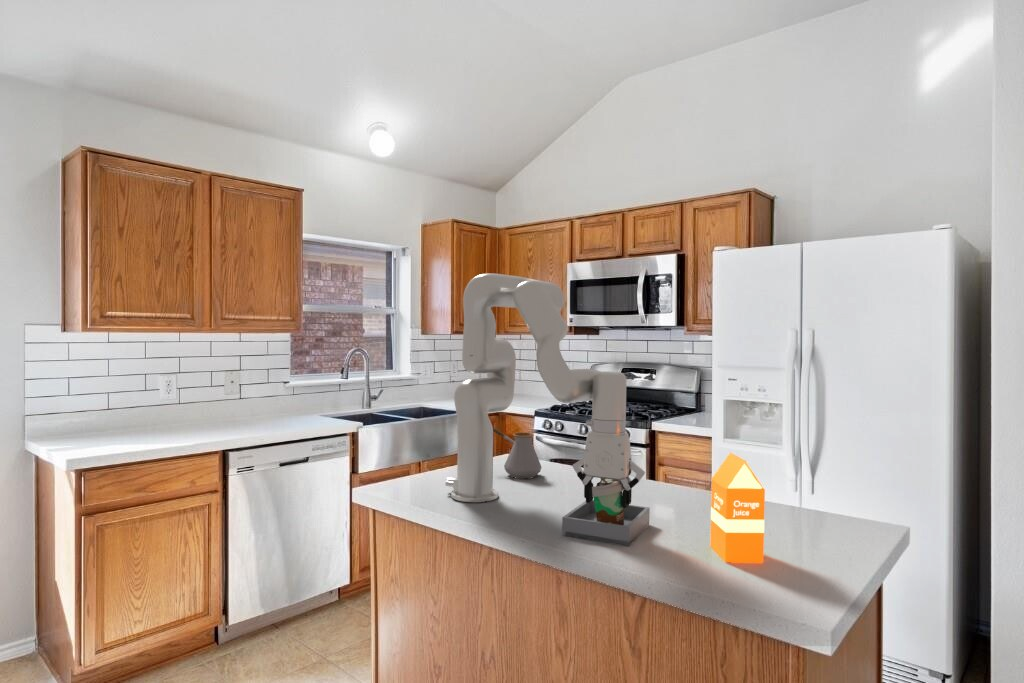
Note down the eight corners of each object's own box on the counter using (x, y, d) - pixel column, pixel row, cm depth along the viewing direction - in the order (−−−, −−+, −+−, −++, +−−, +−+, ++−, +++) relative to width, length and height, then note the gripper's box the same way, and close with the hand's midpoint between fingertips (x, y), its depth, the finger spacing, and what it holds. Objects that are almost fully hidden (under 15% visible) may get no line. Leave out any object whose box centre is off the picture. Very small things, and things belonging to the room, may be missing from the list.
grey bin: (562, 535, 139) (562, 517, 139) (588, 515, 154) (588, 499, 154) (629, 546, 133) (629, 527, 132) (649, 524, 148) (649, 507, 148)
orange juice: (746, 547, 133) (748, 452, 133) (764, 563, 124) (766, 461, 124) (709, 547, 133) (711, 452, 132) (724, 563, 124) (726, 461, 124)
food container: (625, 532, 136) (619, 485, 136) (597, 533, 138) (591, 487, 138) (632, 516, 148) (626, 473, 148) (606, 517, 150) (600, 475, 150)
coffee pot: (548, 475, 196) (549, 427, 196) (527, 482, 187) (528, 431, 187) (493, 466, 209) (493, 420, 208) (471, 472, 199) (471, 424, 199)
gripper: (566, 425, 143) (565, 502, 144) (642, 432, 136) (641, 513, 136) (578, 421, 150) (576, 495, 151) (651, 427, 143) (649, 505, 143)
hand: (607, 503), depth 143 cm, fingers open, 8 cm apart
